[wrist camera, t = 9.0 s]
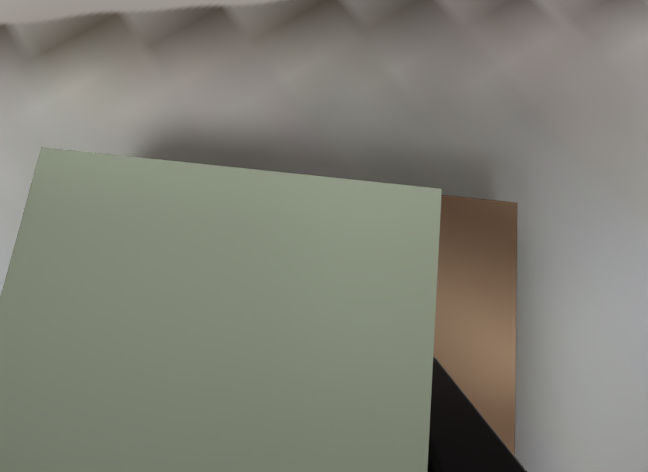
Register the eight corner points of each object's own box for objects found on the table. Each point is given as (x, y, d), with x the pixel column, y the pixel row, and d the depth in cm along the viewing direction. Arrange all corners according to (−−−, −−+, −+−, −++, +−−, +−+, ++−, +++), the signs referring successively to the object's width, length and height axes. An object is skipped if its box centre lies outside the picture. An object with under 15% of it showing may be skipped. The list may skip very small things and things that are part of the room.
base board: (490, 671, 17) (513, 705, 15) (21, 616, 18) (-18, 643, 15) (499, 221, 21) (518, 201, 19) (118, 182, 22) (97, 157, 20)
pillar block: (354, 507, 14) (417, 660, 5) (164, 486, 14) (-81, 600, 5) (369, 318, 15) (441, 189, 7) (196, 299, 15) (41, 146, 7)
